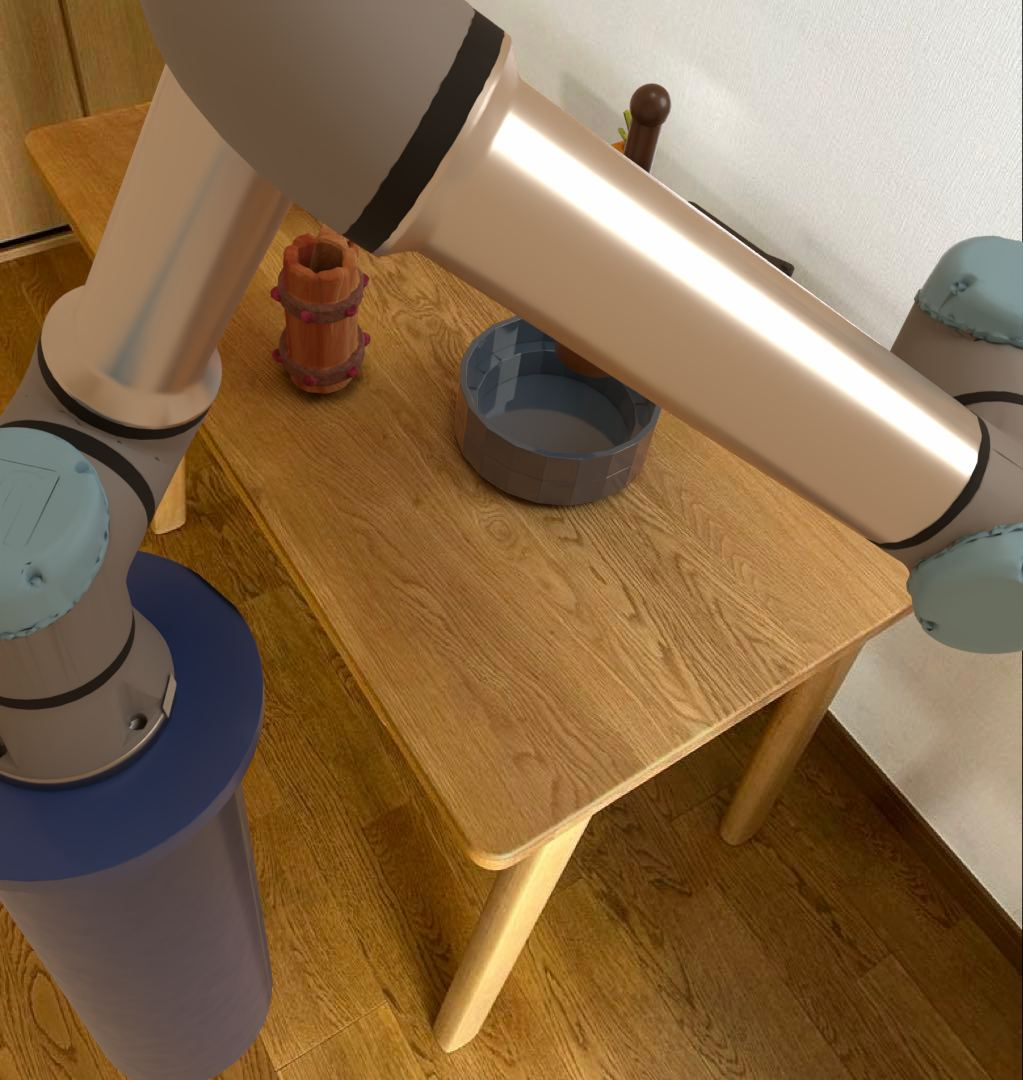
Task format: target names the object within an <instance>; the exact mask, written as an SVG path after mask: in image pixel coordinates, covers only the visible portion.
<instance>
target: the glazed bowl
mask: <svg viewBox="0 0 1023 1080" xmlns="http://www.w3.org/2000/svg"><path fill="white" fill-rule="evenodd" d="M554 343H555V339H553V338H551V337H550V336H548V335H547V334H545V333H544V332H542V331H541V330H539V329H537V328H536V327H534V326H533V325H531V324H530V323H528V322H526V321H525V320H523V319H522V318H520V317H519V316H517V315H516V314H515V315H513V316H511V317H508V318H506V319H504V320H501V321H498V322H495V323H493V324H491V325H490V326H488V327H486V329H485V330H483V331H482V332H481V333H479V334H478V335H477V336H476V337H475V338H473V339H472V340H471V342H470V343H469V345H468V347H467V349H466V351H465V353H464V355H463V356H462V358H461V359H460V364H459V365H460V366H459V373H458V383H457V390H456V392H457V393H456V399H455V409H454V422H453V424H454V425H453V432H454V436H455V438H456V440H457V443H458V446H459V449H460V451H461V454H462V456H463V457H464V458H465V460H466V461H467V462H468V463H469V464H470V465H471V466H472V468H473V469H474V470H475V471H476V473H478V475H479V476H480V477H482V478H483V479H485V480H486V481H488V482H489V483H490V484H491V485H493V486H495V487H496V488H498V489H500V490H502V491H503V492H504V493H506V494H508V495H512V496H515V497H518V498H520V499H524V500H527V501H529V502H533V503H535V504H544V505H556V506H567V507H568V506H574V505H575V506H576V505H583V504H588V503H593V502H598V501H602V500H604V499H605V498H608V497H609V496H611V495H614V494H616V493H618V492H620V491H622V490H624V489H625V488H626V487H628V485H629V484H630V483H631V482H632V481H633V480H634V479H635V478H636V477H637V476H638V475H639V474H640V473H641V472H642V470H643V467H644V464H645V463H646V458H647V457H648V453H649V450H650V447H651V444H652V441H653V438H654V436H655V432H656V429H657V426H658V423H659V419H660V417H661V413H662V411H663V409H662V408H661V407H659V406H658V405H656V404H655V403H653V402H651V401H650V400H648V399H647V398H645V397H644V396H642V395H641V394H639V393H637V392H636V391H634V390H633V389H631V388H630V387H628V386H626V385H625V384H623V383H622V382H620V381H619V380H617V379H616V378H614V377H612V376H610V377H602V378H596V377H588V376H584V375H581V374H578V373H576V372H574V371H572V370H570V369H569V368H567V367H566V366H565V365H564V364H563V363H562V362H561V361H560V360H559V358H558V357H557V355H556V353H555V348H554Z"/></svg>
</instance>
